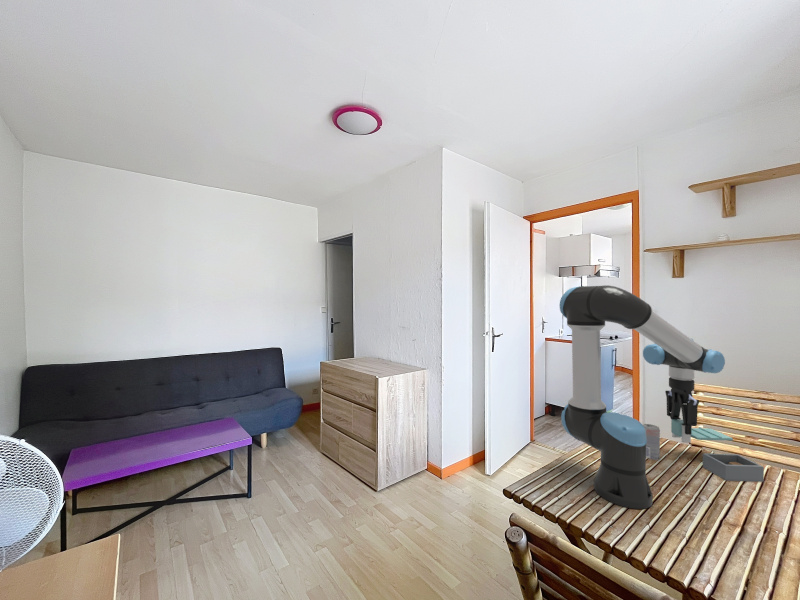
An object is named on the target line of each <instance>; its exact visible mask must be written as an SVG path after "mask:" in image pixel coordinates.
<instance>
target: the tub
mask: <svg viewBox="0 0 800 600" xmlns="http://www.w3.org/2000/svg"><path fill="white" fill-rule="evenodd" d="M729 462H737V463H740V464H742V465H728V463H729ZM702 468H704V469H705V470H707V471H709V472H710V473H712V474H714V475H715V476H717V477H719V478H721V479H722V480H724V481H731V482H737V481H738V482H754V483H755V482H756V483H757V482H759V483H760V482H761V483H764V481H765V480H764V478H765V477H764V475H765V472H764V471H765V467H764V466H763V465H761V464H758V462H755V461H752V460H751V459H748V458H746V457H744V456H742V455H740V454H738V453H707V452H705V453H702Z"/></svg>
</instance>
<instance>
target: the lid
mask: <svg viewBox="0 0 800 600" xmlns="http://www.w3.org/2000/svg"><path fill="white" fill-rule="evenodd" d="M670 419H671V418H670ZM670 421H671V427H670V429H671V430H670V431H671V432H670V433H671V434H672V433H674V434H675V435H677V436H679V437H681V438H682V424H684V423H683V419H678V420H674V419H671V420H670ZM679 437H678V438H679ZM691 438H693V439H695V440H696V441H734V439H733V437H731V436H730V435H729V436H728V435H726V434H724V433H722V432H720V431H717V430H715V429H713V428H711V427H710V428H705V427H704V428H703V427H697V428H696V427H693V426H692V427H691Z"/></svg>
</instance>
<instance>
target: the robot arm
mask: <svg viewBox="0 0 800 600" xmlns="http://www.w3.org/2000/svg"><path fill="white" fill-rule="evenodd" d="M559 312H560V313H561V314H562V316H563V317H564V318H566V326H568V327H569V329H570V330H571V349H572V350H571V352H572V355H571V358H572V364H571V365H572V397H571V398H570V399H568V401H567V403H568V404H566V405H565V406H564V409H563V410H561V411H562V412H561V415H560V418H561V419H560V421H561V425H562V427H563V429H564V431H565V432H566V434H568V435H570V436H572V437H573V438H574V439H575V440H577V441H580V442H582V443H584V444H586V445H587V446H590V447H592V448H594V449H596V450H598V451H600V464H599V467H598V469H597V471H596V475H595V477H594V479H593V489H594V491H595V492H596V493H597V494H598V495H599V496H600V497H602V498H603V499H604V500H606V501H608V502H610V503H612V504H614V505H618V506H621V507H623V508H629V509H634V510H635V509H636V510H642V509H648V508H651V507H652V505H653V501H654V499H653V497H654V496H653V492H652V489H651V487H650V484H649V481H648V477H647V475H646V474H647V473H646V468H647V466H646V462H647V458H646V443H647V439H646V431H645V428H644V426H643V425H644V424H643V423H642V422H640V421H639V420H638V419H636V418H634V417H632V416H629V415H626V414H621V413H620V412H613V411H611V412H610V411H609V412H608V411H607V404H606V403H604V401H603V400H602V385H601V384H602V383H601V382H602V380H601V377H602V373H601V372H602V370H601V330H602V329H603V328H604V327H606V322H607V323H614V324H618V325H620V326H622V327H624V328H626V329H627V330H634V331H636V332H638V333H639V334H640V335H642V336H643V337H645V338H647V340H649V341H651V342H652V343H651V344H647V345H646V346H645V347H644V348H643V350H642V357H643V359H644V360H645V361H646V362H647V363H648V364H651V365H657V366H660V365H661V366H662V365H664V366H668V376H669V378H668V387H669V388H671V389H670V390H665V392H664V393H665V396H666V415H667V416H668V417H669V418H670V419H674V420H681V417H680V413H681V414H682V415H681V416H682V420H683V423H684V424H682V437H679V436H677V435H675V434H674V433H672V432H671V437H672V438H678V439H679V438H680V439H681V443H683V444H684V443H686V444H687V443H690V444H691V443H692V442H691V441H692V439H691V438H692V437H691V427H692V428H693V427H694V426H695V427H697V426H698V409H699V408H698V406H699V404H700V400H699V399H695V398H694V397H693V391H694V390H695V380H694V379H695V371H697V372H702V373H707V374H718V373H720V372H722V371H723V369H724V368H725V365H726V358H725V356H724V354H723V353H722V352H721V351H719V350H714V349H708V348H707V349H706V348H704V347H703V346H701V345H700V344H698V343H697V342H696V341H695V340H694V339H693V338H690V337H689V336H687V335H686V334H685V333H683V332H681V330H679V329H678V328H676V327H675V326H673V325H672V324H671V323H669V322H668V321H667V320H666V319H664V318H663V317H661V316H660V315H658V314H657V313H656V312H654V311H653V308H652V306H651V305H650V304H649V303H647V302H646V301H645V300H643V299H642V298H641V297H639V296H637V295H635V294H633V293H632V292H630V291H628V290H625V289H623V288H620V287H617V286H614V285H610V284H609V285H591V286H587V285H585V286H584V285H580V286H574V287H570V288H569V289H567V290H566V291H565V292H564V293H563V294H562V296H561V297H560V300H559Z"/></svg>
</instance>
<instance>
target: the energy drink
mask: <svg viewBox="0 0 800 600" xmlns="http://www.w3.org/2000/svg"><path fill="white" fill-rule="evenodd" d="M642 425H643V426H644V428H645V431H646V439H647V443H646V459H649V460H660V457H661V456H660V453H661V452H660V450H661V449H660V446H661V441H660V438H661V430H660V427H659V426H657V425H654V424H649V423H644V424H642Z"/></svg>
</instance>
